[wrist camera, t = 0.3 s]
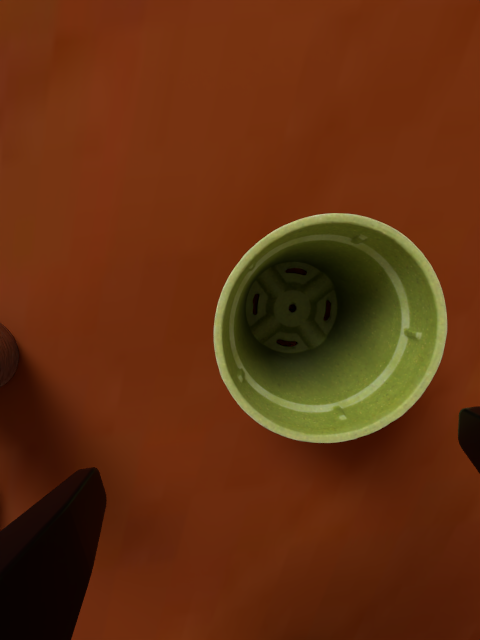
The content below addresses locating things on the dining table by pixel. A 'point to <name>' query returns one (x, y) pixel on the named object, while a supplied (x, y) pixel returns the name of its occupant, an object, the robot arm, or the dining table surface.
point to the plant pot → (330, 328)
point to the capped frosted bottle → (7, 355)
